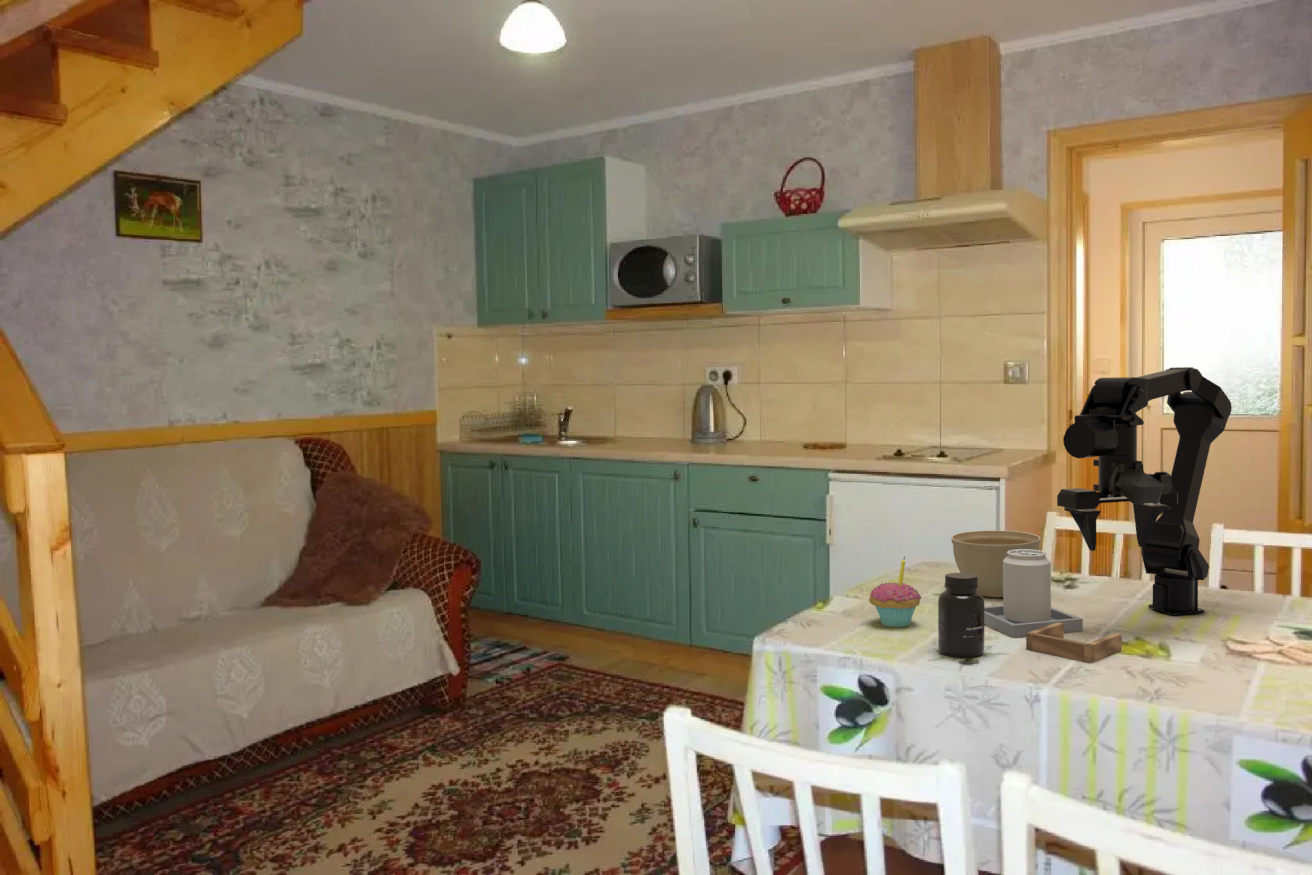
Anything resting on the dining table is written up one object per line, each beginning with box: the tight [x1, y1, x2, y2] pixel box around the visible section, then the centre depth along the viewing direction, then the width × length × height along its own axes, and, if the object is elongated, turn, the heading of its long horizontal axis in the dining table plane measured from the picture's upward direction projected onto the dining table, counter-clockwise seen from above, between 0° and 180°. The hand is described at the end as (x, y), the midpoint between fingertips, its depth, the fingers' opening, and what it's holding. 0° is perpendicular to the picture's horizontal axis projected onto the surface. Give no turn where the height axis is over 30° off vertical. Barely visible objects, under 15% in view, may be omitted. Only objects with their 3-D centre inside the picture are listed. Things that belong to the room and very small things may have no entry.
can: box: [1002, 549, 1052, 624], centre depth 172 cm, size 8×8×12 cm
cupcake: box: [868, 555, 922, 628], centre depth 175 cm, size 9×8×12 cm
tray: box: [984, 604, 1084, 638], centre depth 172 cm, size 13×13×2 cm
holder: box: [1025, 622, 1123, 664], centre depth 157 cm, size 9×10×2 cm
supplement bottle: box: [937, 572, 985, 658], centre depth 157 cm, size 7×7×12 cm
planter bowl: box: [950, 529, 1042, 598], centre depth 196 cm, size 16×16×11 cm
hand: (1117, 548), depth 168 cm, fingers open, 9 cm apart
